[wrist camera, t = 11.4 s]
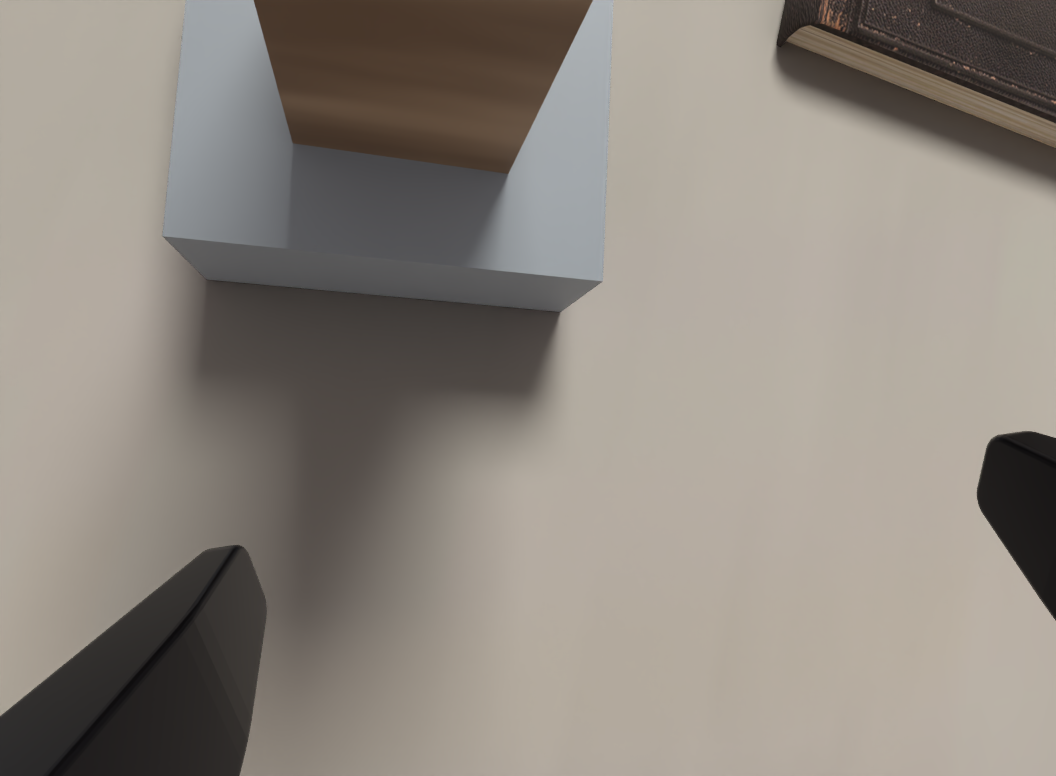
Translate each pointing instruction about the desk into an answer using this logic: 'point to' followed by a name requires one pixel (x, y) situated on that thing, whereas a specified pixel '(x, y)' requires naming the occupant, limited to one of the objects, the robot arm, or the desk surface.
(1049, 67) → the hardcover book
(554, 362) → the desk surface
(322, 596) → the desk surface
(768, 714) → the desk surface
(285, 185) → the slate plinth
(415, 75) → the walnut post
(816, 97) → the desk surface
